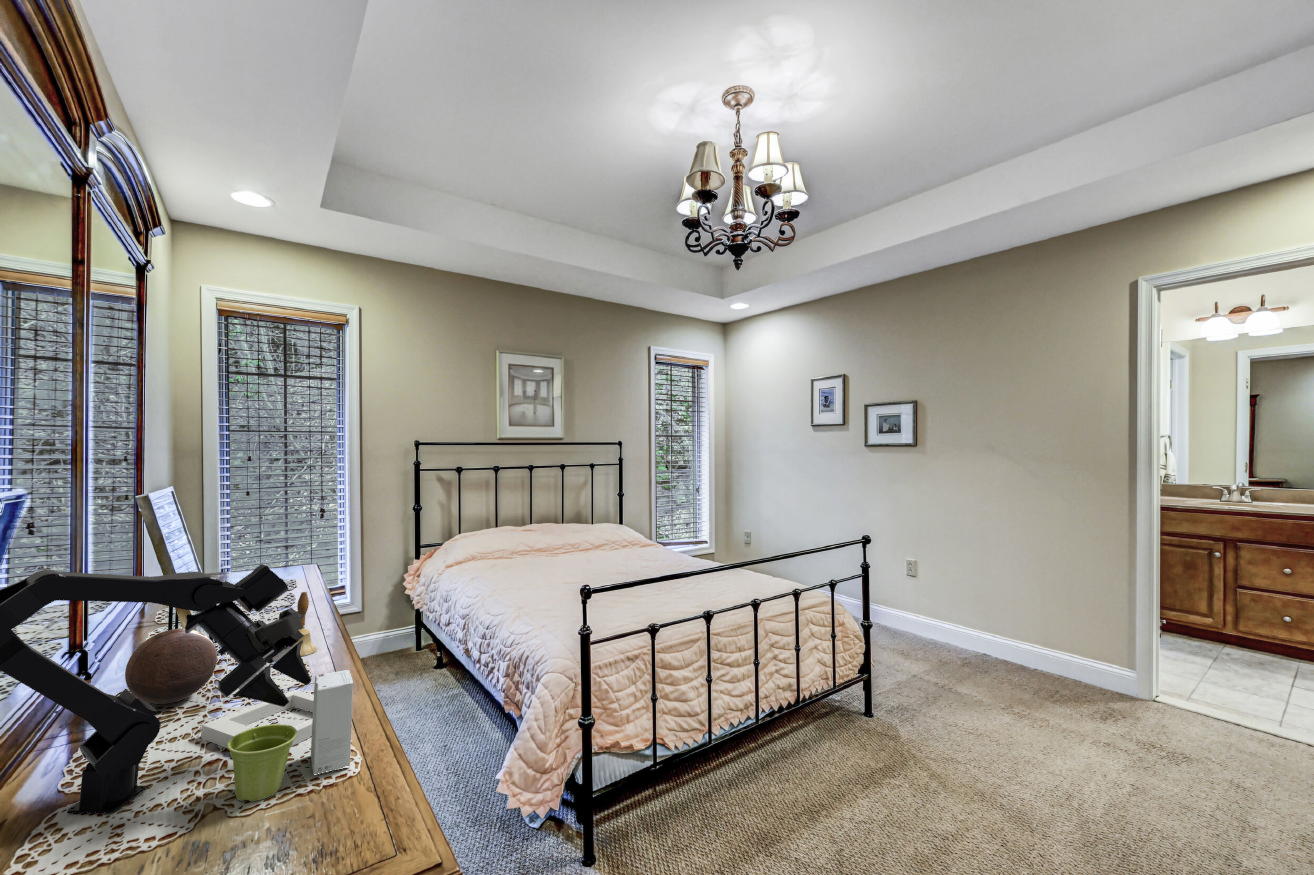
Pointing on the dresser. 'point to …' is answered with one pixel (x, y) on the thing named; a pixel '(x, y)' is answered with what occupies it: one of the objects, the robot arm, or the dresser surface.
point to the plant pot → (260, 760)
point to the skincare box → (331, 721)
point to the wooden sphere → (170, 666)
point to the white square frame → (236, 722)
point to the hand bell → (307, 644)
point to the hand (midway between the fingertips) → (298, 693)
